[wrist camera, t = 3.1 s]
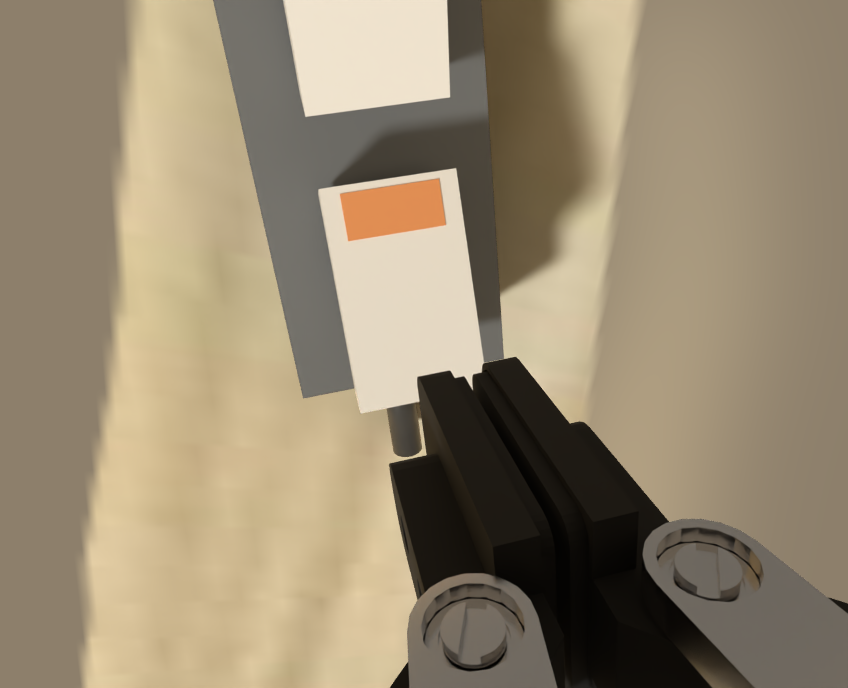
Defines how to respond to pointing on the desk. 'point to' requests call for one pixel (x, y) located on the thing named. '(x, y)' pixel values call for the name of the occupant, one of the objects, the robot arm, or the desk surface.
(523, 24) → the desk surface
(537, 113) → the desk surface
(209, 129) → the desk surface
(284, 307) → the rocker switch panel
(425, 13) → the rocker
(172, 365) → the desk surface
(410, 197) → the rocker
